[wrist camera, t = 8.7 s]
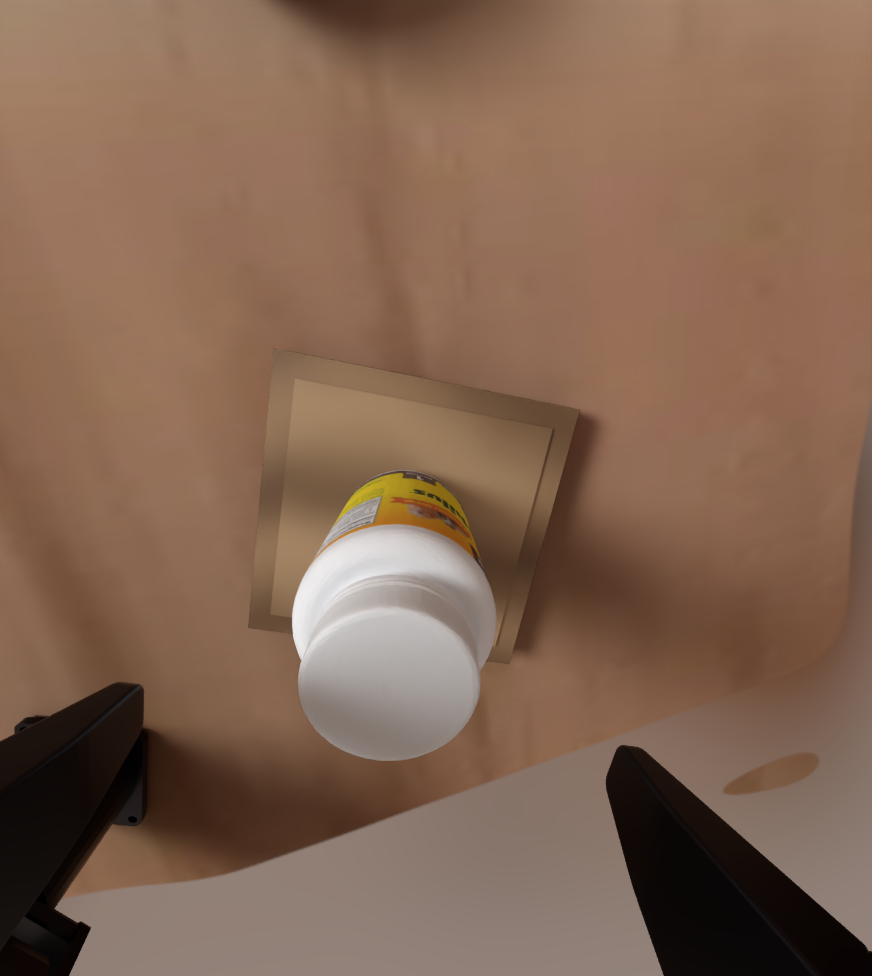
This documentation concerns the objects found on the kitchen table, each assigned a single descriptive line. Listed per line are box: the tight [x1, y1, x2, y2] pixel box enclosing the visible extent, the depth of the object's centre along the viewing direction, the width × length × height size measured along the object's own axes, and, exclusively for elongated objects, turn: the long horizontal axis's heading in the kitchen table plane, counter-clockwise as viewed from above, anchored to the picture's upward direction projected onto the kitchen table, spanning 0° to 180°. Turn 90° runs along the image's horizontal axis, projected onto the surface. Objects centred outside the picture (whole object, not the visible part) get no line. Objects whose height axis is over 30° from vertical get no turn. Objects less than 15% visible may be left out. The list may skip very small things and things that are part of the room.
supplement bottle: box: [292, 470, 496, 761], centre depth 14 cm, size 6×6×10 cm
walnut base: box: [248, 348, 580, 664], centre depth 19 cm, size 13×13×2 cm
